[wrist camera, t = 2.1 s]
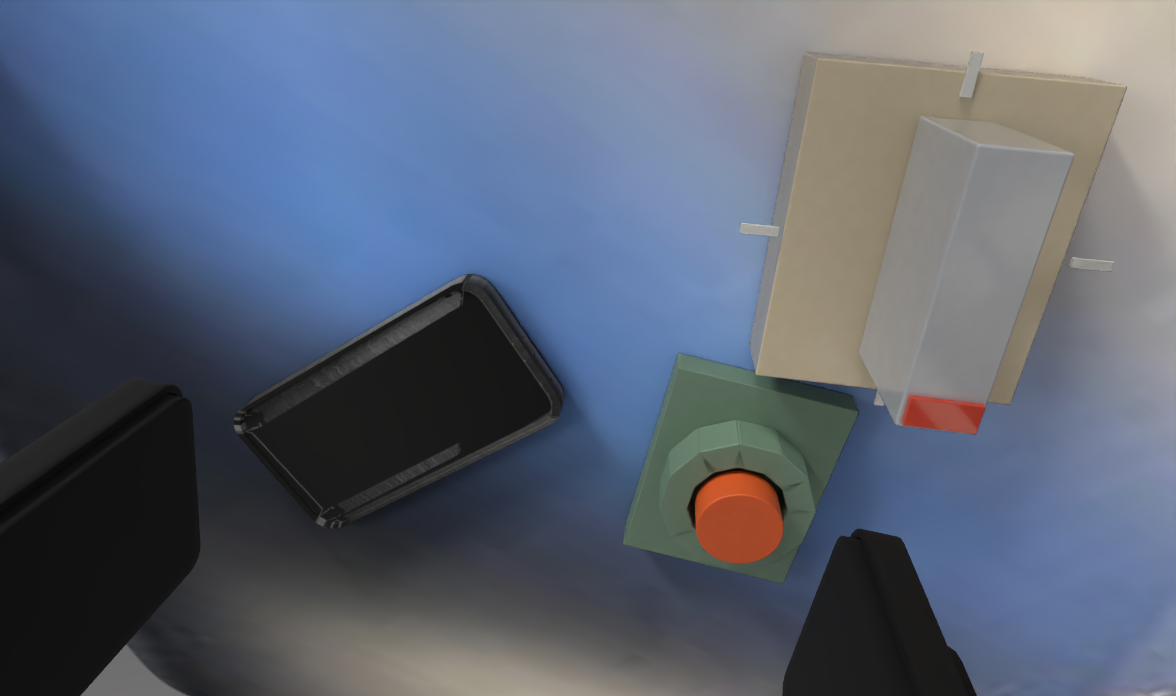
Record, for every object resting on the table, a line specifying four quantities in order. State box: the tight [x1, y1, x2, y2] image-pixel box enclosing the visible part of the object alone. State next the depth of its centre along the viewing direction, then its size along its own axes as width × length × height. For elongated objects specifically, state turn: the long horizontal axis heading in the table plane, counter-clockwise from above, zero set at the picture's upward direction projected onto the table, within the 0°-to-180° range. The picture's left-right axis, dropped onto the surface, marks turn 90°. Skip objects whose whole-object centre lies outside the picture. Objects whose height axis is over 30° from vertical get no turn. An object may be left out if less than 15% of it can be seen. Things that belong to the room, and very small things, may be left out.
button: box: [695, 471, 784, 564], centre depth 32 cm, size 4×4×2 cm
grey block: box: [859, 116, 1074, 435], centre depth 25 cm, size 9×3×6 cm, turn 176°
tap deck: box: [739, 52, 1127, 406], centre depth 28 cm, size 13×13×3 cm
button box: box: [624, 353, 859, 583], centre depth 34 cm, size 10×8×4 cm
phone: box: [234, 274, 564, 528], centre depth 35 cm, size 8×1×15 cm
